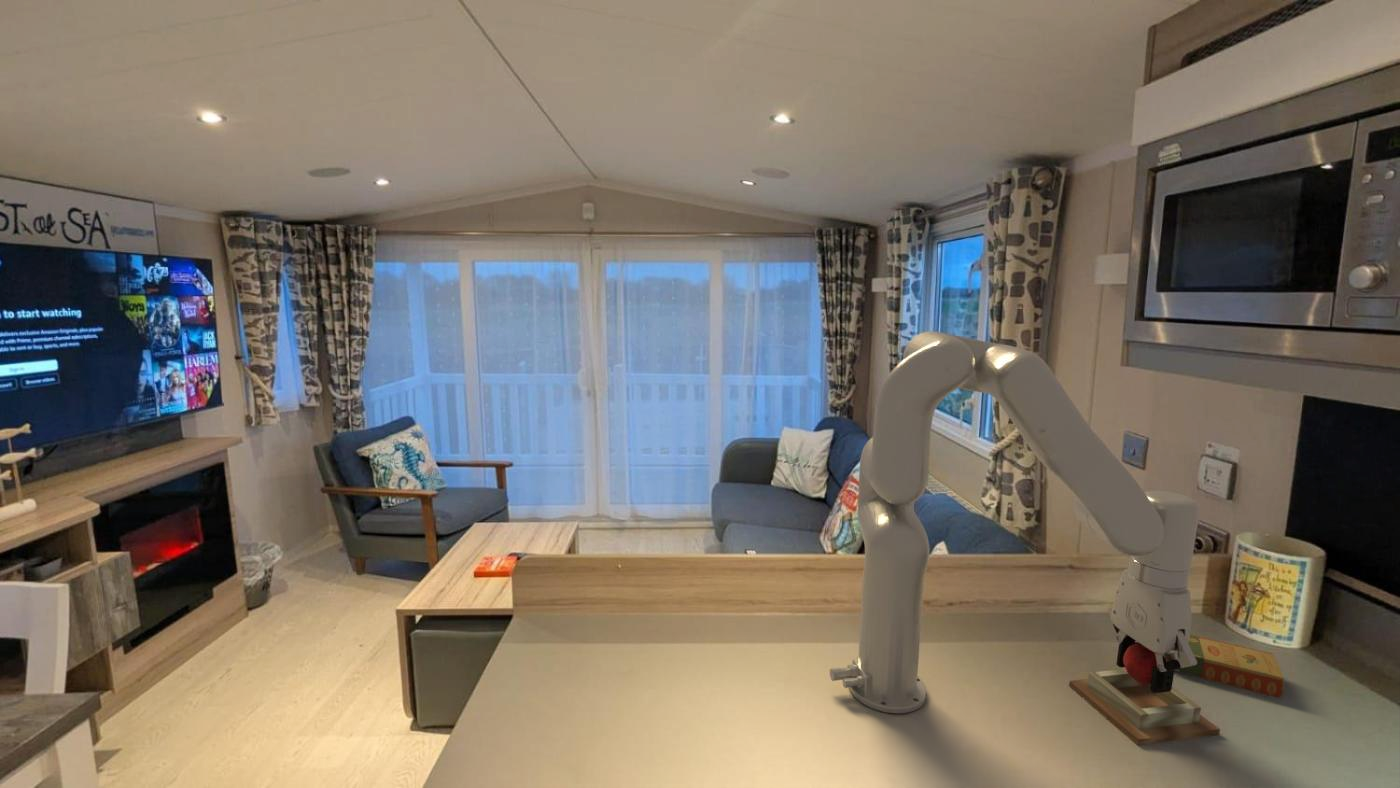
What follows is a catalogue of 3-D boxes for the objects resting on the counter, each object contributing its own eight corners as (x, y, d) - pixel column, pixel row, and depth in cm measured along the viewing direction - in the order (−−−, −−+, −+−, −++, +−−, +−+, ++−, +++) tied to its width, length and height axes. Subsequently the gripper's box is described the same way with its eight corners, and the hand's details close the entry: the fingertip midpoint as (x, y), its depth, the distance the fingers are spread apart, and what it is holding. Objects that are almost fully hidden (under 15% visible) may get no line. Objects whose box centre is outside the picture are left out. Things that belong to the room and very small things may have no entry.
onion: (1151, 700, 97) (1158, 653, 95) (1112, 679, 102) (1118, 634, 100) (1172, 689, 99) (1179, 643, 98) (1133, 669, 104) (1139, 625, 103)
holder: (1137, 745, 93) (1140, 724, 93) (1069, 686, 107) (1071, 667, 106) (1219, 734, 95) (1222, 714, 95) (1141, 677, 109) (1144, 659, 108)
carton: (1281, 701, 104) (1285, 677, 103) (1161, 669, 112) (1164, 647, 111) (1270, 674, 111) (1274, 652, 110) (1157, 646, 119) (1160, 625, 118)
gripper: (1093, 550, 105) (1081, 649, 108) (1187, 602, 88) (1169, 717, 91) (1133, 547, 106) (1120, 645, 109) (1234, 598, 89) (1214, 712, 92)
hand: (1142, 677), depth 100 cm, fingers closed on onion, 5 cm apart
